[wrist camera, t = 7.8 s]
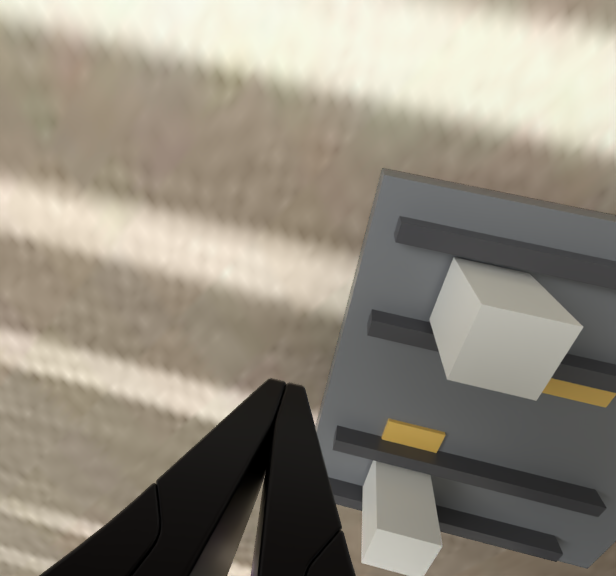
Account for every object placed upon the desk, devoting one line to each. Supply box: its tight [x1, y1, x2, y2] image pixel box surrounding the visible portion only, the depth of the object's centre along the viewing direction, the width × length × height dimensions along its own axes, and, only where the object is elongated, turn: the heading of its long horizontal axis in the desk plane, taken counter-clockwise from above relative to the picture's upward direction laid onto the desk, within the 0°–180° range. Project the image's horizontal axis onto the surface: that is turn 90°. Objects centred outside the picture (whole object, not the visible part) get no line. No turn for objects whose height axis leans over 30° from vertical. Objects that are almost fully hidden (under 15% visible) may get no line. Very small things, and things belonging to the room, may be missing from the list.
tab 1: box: [361, 460, 443, 576], centre depth 19 cm, size 3×3×4 cm
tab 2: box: [429, 257, 583, 401], centre depth 13 cm, size 3×3×4 cm
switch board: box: [315, 168, 616, 569], centre depth 18 cm, size 18×20×3 cm
